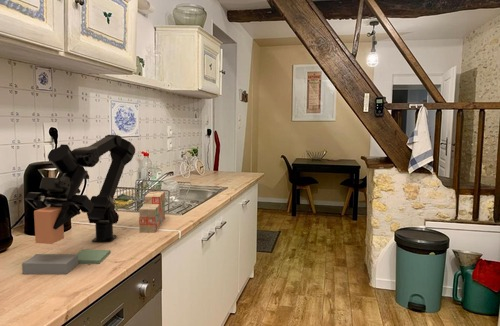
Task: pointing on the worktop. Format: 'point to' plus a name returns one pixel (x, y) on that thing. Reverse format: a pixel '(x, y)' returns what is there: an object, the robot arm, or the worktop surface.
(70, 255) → the slate block
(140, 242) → the worktop surface
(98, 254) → the green mat
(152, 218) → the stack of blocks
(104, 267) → the worktop surface
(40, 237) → the terracotta block
